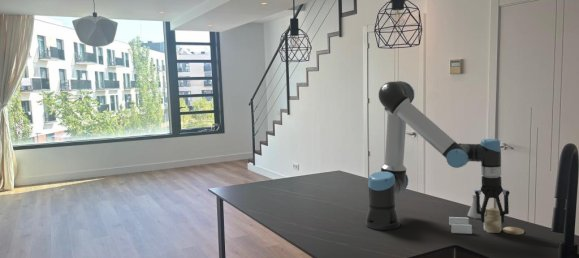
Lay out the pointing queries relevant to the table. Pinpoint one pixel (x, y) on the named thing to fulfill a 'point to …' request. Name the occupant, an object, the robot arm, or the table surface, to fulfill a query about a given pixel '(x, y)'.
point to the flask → (474, 209)
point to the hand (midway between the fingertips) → (492, 229)
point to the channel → (460, 225)
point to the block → (493, 220)
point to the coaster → (513, 230)
